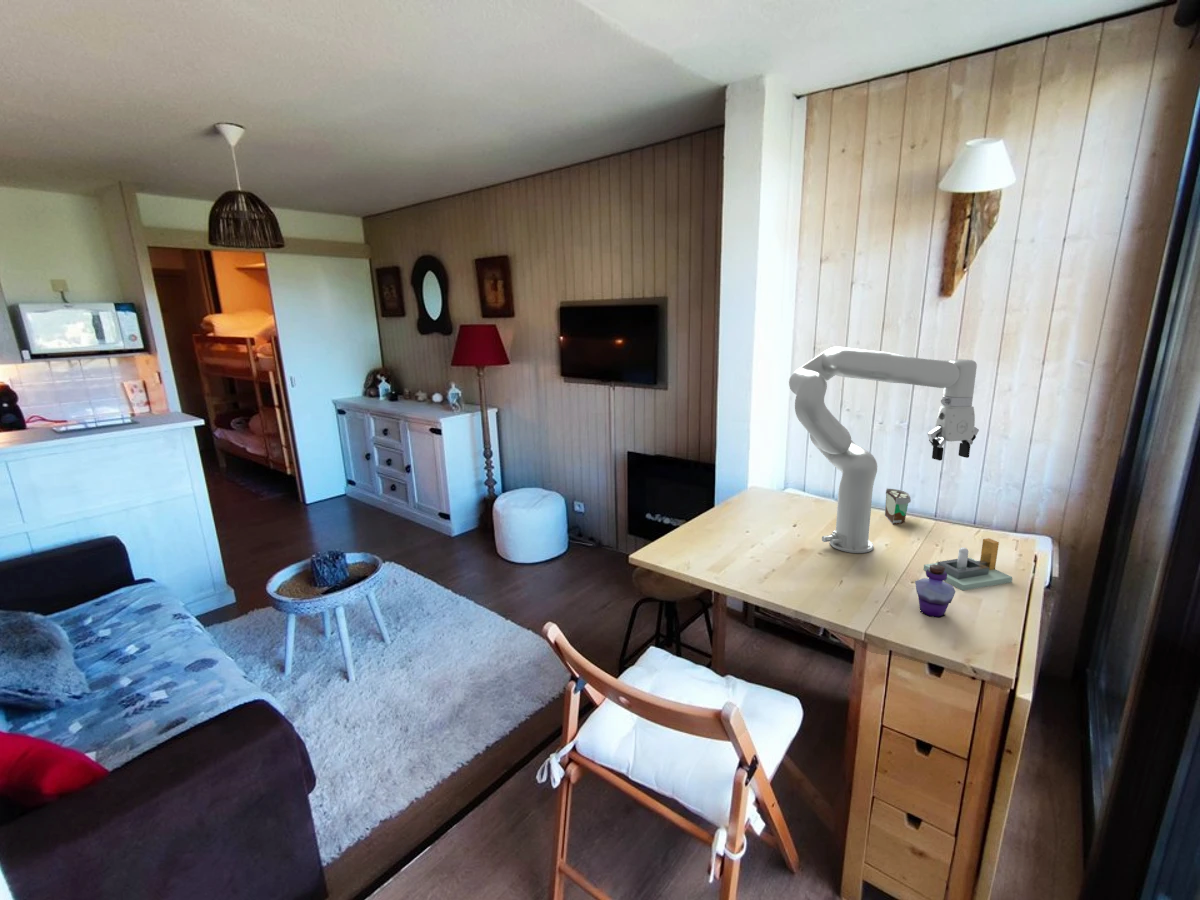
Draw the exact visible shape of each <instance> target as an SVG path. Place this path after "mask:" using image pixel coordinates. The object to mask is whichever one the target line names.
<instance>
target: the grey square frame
mask: <svg viewBox="0 0 1200 900" xmlns="http://www.w3.org/2000/svg"><path fill="white" fill-rule="evenodd" d="M999 545H1000V542H999V541H996V540H994V539H993V538H989V537H988V538H983V539H982V545H981V550H980V551H981V553H980V560H976V561H974V560H975V559H974V560H972V559H973V558H972V559H969V558H970V557H968V559H967V567H968V568H966V569H960V570H958V569H956V568H957V561H958V558H954V559H946V560H941V561H937V562H936V563H937V565H940V566H943V567H944V568H945V570H944V571H945V572H946V573H947V574H948V575H950V576H952V577H954V578H956V579H964V578H970V577H976V576H982V575H988V574H989V570H993V569H996V567H997V566H996V565H997V558H998V557H997V556H998V550H999Z"/></svg>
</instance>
